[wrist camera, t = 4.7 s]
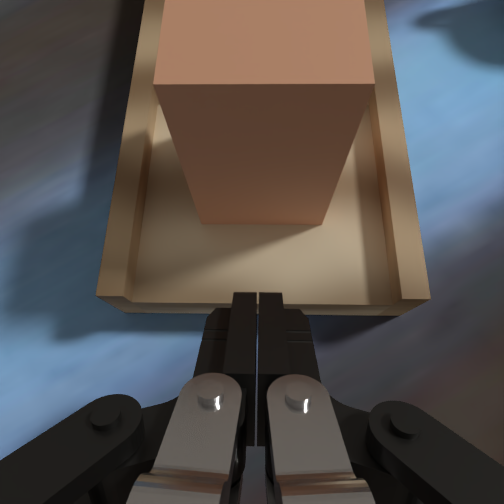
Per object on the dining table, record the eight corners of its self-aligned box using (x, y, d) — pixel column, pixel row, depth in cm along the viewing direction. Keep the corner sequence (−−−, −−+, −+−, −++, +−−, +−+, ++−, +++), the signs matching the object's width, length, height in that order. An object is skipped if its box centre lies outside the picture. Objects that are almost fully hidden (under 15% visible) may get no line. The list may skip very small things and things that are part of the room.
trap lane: (399, 315, 19) (445, 291, 14) (124, 312, 20) (82, 287, 15) (345, -116, 33) (359, -201, 28) (182, -114, 33) (170, -197, 28)
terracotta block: (321, 224, 18) (375, 83, 10) (201, 224, 18) (153, 84, 10) (316, 126, 20) (356, -60, 12) (208, 126, 21) (172, -57, 12)
